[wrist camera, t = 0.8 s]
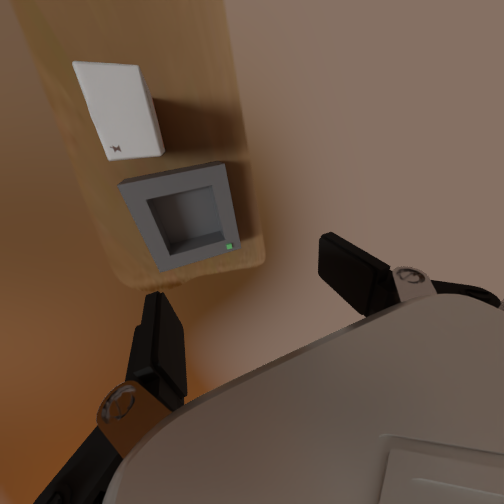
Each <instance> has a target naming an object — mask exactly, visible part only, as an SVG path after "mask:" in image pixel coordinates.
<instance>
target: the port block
mask: <svg viewBox="0 0 504 504" xmlns="http://www.w3.org/2000/svg"><path fill="white" fill-rule="evenodd" d="M117 186H118V188H119V190H120V192H121V194H122V196H123V198H124V200H125V202H126V204H127V206H128V208H129V210H130V213H131V215H132V217H133V219H134V221H135V223H136V225H137V227H138V229H139V231H140V233H141V235H142V237H143V239H144V241H145V243H146V245H147V247H148V249H149V251H150V253H151V255H152V257H153V259H154V261H155V263H156V265H157V267H158V269H159V271H160V272H164V271H167V270H170V269H174V268H177V267H180V266H184V265H187V264H190V263H194V262H197V261H200V260H203V259H207V258H210V257H213V256H217V255H220V254H223V253H227V252H230V251H233V250H237V249H240V248H241V244H240V239H239V234H238V229H237V224H236V219H235V214H234V209H233V203H232V198H231V193H230V188H229V183H228V178H227V173H226V168H225V164H224V163H222V162H219V161H215V162H210V163H205V164H200V165H194V166H189V167H184V168H179V169H174V170H169V171H164V172H159V173H153V174H148V175H143V176H138V177H133V178H128V179H124V180H123V181H122V182H120V183H119V184H118V185H117Z"/></svg>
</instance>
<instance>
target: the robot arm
mask: <svg viewBox="0 0 504 504" xmlns="http://www.w3.org/2000/svg"><path fill="white" fill-rule="evenodd" d="M318 261H319V262H318V274H319V276H320V277H321V278H322V279H323V280H324V281H325V282H326V283H327V284H328V285H329V286H330V287H332V288H333V289H334V290H335V291H336V292H337V293H338V294H339V295H340V296H341V297H342V298H343V299H344V300H345V301H346V302H348V303H349V304H350V305H351V306H352V307H353V308H354V309H355V310H356V311H357V312H358V313H360V314H361V315H364V316H365V317H366V318H364V319H362V320H360V321H358V322H355V323H353V324H351V325H349V326H347V327H344V328H342V329H340V330H338V331H336V332H334V333H331V334H329V335H327V336H325V337H323V338H321V339H319V340H317V341H314V342H312V343H310V344H308V345H306V346H304V347H301V348H299V349H297V350H295V351H293V352H291V353H289V354H286V355H284V356H282V357H280V358H278V359H276V360H274V361H272V362H269V363H267V364H265V365H263V366H261V367H259V368H257V369H255V370H253V371H251V372H248V373H246V374H244V375H242V376H240V377H238V378H236V379H234V380H232V381H229V382H227V383H225V384H223V385H221V386H219V387H217V388H215V389H213V390H211V391H209V392H207V393H205V394H203V395H201V396H199V397H197V398H196V399H194V400H192V401H190V402H189V403H187V404H185V405H184V397H185V396H187V378H186V362H185V347H184V331H183V326H182V324H181V322H180V320H179V319H178V317H177V316H176V313H175V312H174V310H173V308H172V306H171V305H170V303H169V301H168V299H167V298H166V296H165V294H164V293H163V292H162V293H160V292H159V291H157V292H154V293H151V294H148V295H146V297H145V303H144V309H143V315H142V321H141V325H139V326H137V327H136V328H135V332H134V337H133V342H132V347H131V352H130V357H129V363H128V368H127V373H126V379H125V382H123V383H121V384H119V385H118V386H116V387H115V388H114V389H113V390H112V391H110V392H109V393H108V395H107V396H106V397H105V398H104V400H103V402H102V403H101V405H100V407H99V409H98V412H97V418H96V422H97V427H96V428H95V429H94V430H93V432H92V433H91V434H90V435H89V436H88V437H87V439H86V440H85V441H84V442H83V443H82V445H81V446H80V447H79V448H78V449H77V451H76V452H75V453H74V454H73V456H72V457H71V458H70V459H69V460H68V462H67V463H66V464H65V465H64V467H63V468H62V469H61V470H60V471H59V473H58V474H57V475H56V476H55V477H54V478H53V480H52V481H51V482H50V483H49V485H48V486H47V487H46V488H45V490H44V491H43V492H42V493H41V494H40V495H39V497H38V498H37V499H36V500H35V502H34V503H33V504H504V299H503V300H502V301H500V300H499V299H498V298H497V296H495V295H494V294H492V293H491V292H489V291H487V290H485V289H483V288H479V287H475V286H470V285H463V284H455V283H448V282H442V281H434V280H430V279H429V277H428V276H427V275H426V274H425V273H424V272H422V271H420V270H418V269H415V268H412V267H397V268H395V269H394V270H393V271H391V270H389V269H390V266H389V265H387V264H386V263H384V262H382V261H381V260H379V259H377V258H375V257H374V256H372V255H370V254H369V253H367V252H365V251H363V250H362V249H360V248H358V247H356V246H355V245H353V244H352V243H350V242H348V241H346V240H345V239H343V238H341V237H339V236H338V235H336V234H334V233H333V232H329V233H326V234H323V235H322V236H321V238H320V239H319V260H318Z"/></svg>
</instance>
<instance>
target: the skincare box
mask: <svg viewBox="0 0 504 504" xmlns="http://www.w3.org/2000/svg"><path fill="white" fill-rule="evenodd" d="M72 64H73V68H74V70H75V73H76V76H77V78H78V81H79V83H80V86H81V89H82V92H83V94H84V97H85V100H86V103H87V106H88V109H89V112H90V115H91V118H92V121H93V123H94V125H95V127H96V130H97V132H98V135H99V137H100V140H101V143H102V145H103V148H104V150H105V153H106V155H107V158H108V160H109V161H115V160H126V159H137V158H148V157H159V156H162V155H163V153H164V152H165V148H164V144H163V140H162V135H161V131H160V127H159V123H158V119H157V115H156V111H155V107H154V103H153V98H152V96H151V93H150V91H149V89H148V86H147V84H146V81H145V79H144V77H143V74H142V72H141V70H140V67H139V66H138V65H127V64H113V63H98V62H81V61H73V63H72Z"/></svg>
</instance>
